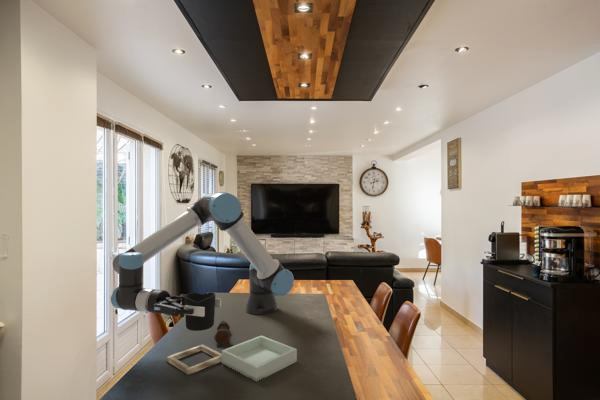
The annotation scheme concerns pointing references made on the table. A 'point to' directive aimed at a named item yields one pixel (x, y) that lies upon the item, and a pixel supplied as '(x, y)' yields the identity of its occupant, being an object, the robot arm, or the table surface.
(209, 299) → the pen holder
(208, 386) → the table surface
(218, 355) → the square wooden frame
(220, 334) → the bolt
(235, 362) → the bin
